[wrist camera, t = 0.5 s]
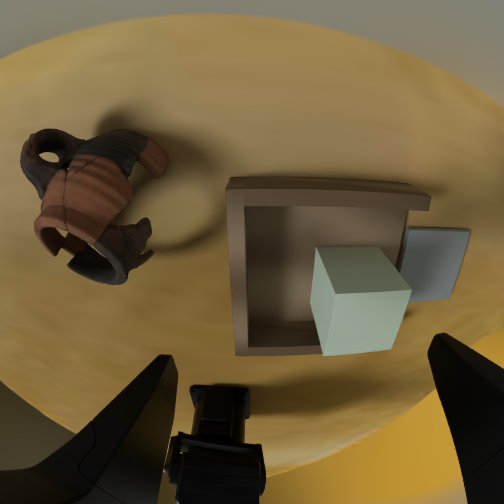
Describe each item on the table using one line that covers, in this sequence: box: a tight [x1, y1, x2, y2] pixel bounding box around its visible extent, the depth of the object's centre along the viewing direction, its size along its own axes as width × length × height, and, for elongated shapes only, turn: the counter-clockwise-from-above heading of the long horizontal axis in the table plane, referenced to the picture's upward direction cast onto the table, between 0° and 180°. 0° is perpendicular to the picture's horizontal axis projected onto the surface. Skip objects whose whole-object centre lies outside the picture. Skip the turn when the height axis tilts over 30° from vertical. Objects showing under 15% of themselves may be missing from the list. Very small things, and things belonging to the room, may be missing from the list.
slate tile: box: [397, 227, 470, 303], centre depth 21 cm, size 7×7×1 cm
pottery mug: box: [20, 129, 168, 285], centre depth 17 cm, size 12×10×8 cm
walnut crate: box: [226, 177, 431, 356], centre depth 20 cm, size 13×13×3 cm
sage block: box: [310, 246, 412, 356], centre depth 19 cm, size 5×5×6 cm
